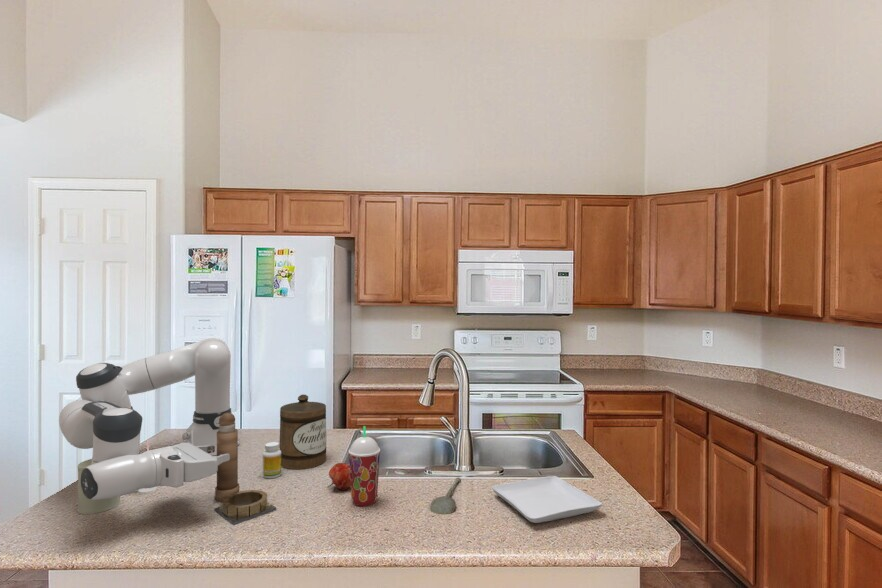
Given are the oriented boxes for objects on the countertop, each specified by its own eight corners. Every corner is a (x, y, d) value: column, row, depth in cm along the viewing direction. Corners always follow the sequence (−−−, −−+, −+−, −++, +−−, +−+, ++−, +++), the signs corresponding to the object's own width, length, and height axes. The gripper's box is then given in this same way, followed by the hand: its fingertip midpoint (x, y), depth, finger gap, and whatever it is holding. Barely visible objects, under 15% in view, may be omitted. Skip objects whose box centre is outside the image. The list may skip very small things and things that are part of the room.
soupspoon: (426, 517, 121) (451, 521, 120) (427, 504, 121) (452, 508, 119) (448, 481, 143) (469, 484, 141) (448, 470, 142) (470, 473, 141)
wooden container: (302, 473, 148) (302, 401, 148) (269, 464, 155) (269, 396, 155) (335, 458, 161) (335, 393, 161) (303, 451, 168) (303, 388, 168)
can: (127, 503, 127) (127, 458, 127) (87, 517, 119) (87, 469, 119) (109, 495, 131) (109, 452, 131) (70, 508, 123) (70, 462, 123)
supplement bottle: (260, 474, 146) (260, 443, 146) (277, 470, 150) (277, 440, 150) (266, 480, 142) (266, 448, 142) (284, 476, 146) (284, 444, 146)
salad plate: (489, 496, 132) (489, 484, 132) (555, 485, 139) (555, 473, 139) (530, 532, 112) (530, 518, 112) (604, 517, 120) (604, 503, 120)
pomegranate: (329, 501, 133) (357, 481, 132) (314, 479, 134) (342, 458, 133) (339, 493, 140) (366, 474, 139) (326, 472, 141) (352, 452, 141)
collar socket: (214, 510, 122) (214, 498, 122) (256, 497, 130) (256, 486, 130) (233, 525, 115) (233, 512, 115) (276, 509, 123) (276, 498, 123)
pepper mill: (211, 497, 130) (211, 413, 130) (233, 491, 134) (233, 409, 134) (220, 504, 126) (220, 416, 126) (243, 497, 130) (243, 412, 130)
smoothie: (385, 496, 131) (385, 423, 131) (372, 510, 123) (372, 432, 123) (356, 493, 133) (356, 421, 133) (342, 506, 125) (342, 429, 125)
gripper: (150, 467, 126) (205, 454, 136) (178, 489, 112) (237, 473, 122) (150, 443, 126) (205, 432, 136) (178, 462, 112) (237, 448, 122)
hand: (221, 452), depth 129 cm, fingers open, 8 cm apart
